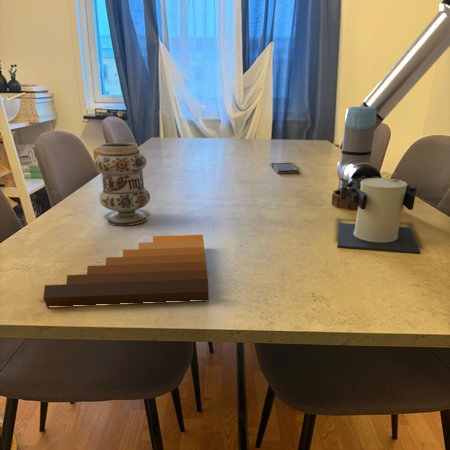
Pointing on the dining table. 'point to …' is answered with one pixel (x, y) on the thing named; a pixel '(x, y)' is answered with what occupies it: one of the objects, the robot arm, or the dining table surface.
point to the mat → (402, 244)
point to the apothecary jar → (123, 182)
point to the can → (380, 210)
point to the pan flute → (140, 276)
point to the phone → (284, 168)
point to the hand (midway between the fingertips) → (388, 202)
